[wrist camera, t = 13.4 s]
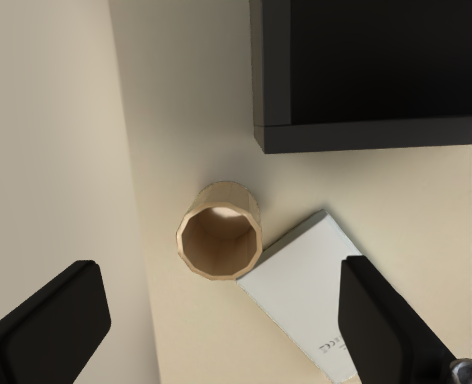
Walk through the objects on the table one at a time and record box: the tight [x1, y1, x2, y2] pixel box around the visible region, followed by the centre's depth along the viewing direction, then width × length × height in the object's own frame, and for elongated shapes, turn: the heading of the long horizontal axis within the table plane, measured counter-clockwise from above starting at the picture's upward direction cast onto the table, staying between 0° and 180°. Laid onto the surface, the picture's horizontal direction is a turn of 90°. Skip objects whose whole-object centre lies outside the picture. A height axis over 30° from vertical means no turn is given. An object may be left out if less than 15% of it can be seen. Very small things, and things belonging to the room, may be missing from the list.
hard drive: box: [235, 209, 362, 384], centre depth 19 cm, size 2×8×12 cm
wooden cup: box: [176, 181, 262, 280], centre depth 16 cm, size 5×5×5 cm
